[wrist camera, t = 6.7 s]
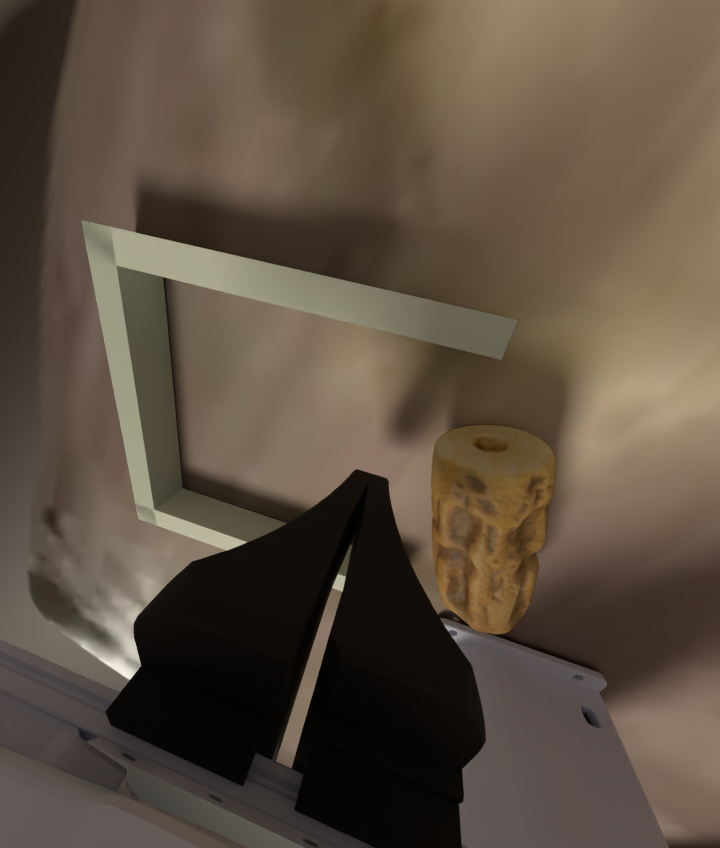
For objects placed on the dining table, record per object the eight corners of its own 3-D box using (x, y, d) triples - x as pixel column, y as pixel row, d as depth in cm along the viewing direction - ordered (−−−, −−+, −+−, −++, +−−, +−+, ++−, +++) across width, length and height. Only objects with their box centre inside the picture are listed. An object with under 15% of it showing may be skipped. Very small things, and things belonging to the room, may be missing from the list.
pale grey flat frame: (502, 316, 10) (518, 320, 8) (397, 575, 16) (393, 610, 14) (134, 233, 12) (81, 220, 10) (167, 497, 18) (138, 518, 16)
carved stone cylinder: (515, 567, 14) (546, 655, 11) (431, 559, 15) (434, 638, 12) (535, 418, 11) (588, 471, 8) (429, 421, 12) (432, 469, 9)
